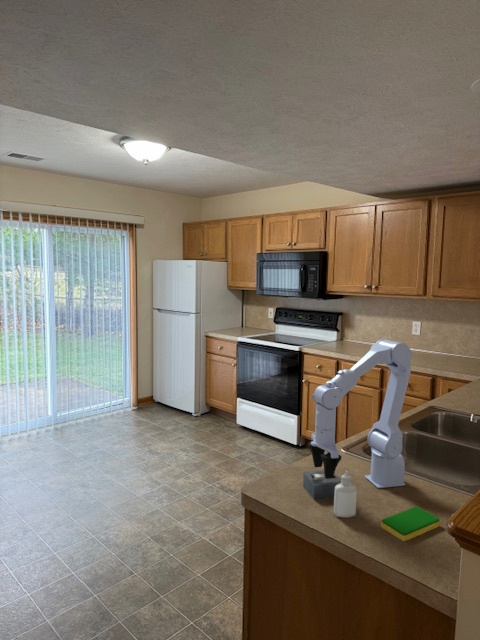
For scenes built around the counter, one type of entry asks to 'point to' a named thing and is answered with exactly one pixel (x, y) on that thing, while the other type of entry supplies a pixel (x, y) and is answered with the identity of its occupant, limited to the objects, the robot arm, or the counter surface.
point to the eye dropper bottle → (345, 497)
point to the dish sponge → (410, 523)
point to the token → (319, 476)
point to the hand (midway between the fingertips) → (323, 472)
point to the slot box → (320, 484)
